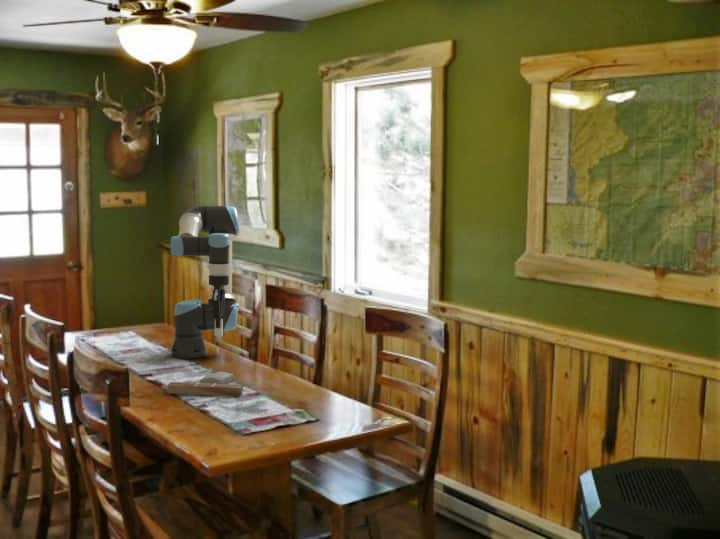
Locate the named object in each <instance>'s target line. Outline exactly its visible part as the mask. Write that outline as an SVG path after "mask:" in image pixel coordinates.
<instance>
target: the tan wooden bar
mask: <svg viewBox="0 0 720 539" xmlns="http://www.w3.org/2000/svg"><path fill="white" fill-rule="evenodd" d="M166 388H167V394H169V395H171V394H172V395H174V394H175V395H198V396H199V395H204V396H228V397H231V396H232V397H233V396H234V397H241V396H242V394H243V393H244V391H243V390H244V389H243V384H237V383H236V384H235V383H234V384H233V383H229V384H216V383H214V384H209V383H200V382H175V381H172V382H171V381H170V382H169V383H168V384H167V385H166Z"/></svg>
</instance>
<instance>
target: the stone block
mask: <svg viewBox="0 0 720 539" xmlns="http://www.w3.org/2000/svg"><path fill="white" fill-rule="evenodd" d="M233 380H234V373H231V372H226V371H216V372H211V373H208V374H207V375H205V376H204V377H203V378H201V379H199V383H209V384H214V383H216V384H232V383H233Z"/></svg>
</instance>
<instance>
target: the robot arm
mask: <svg viewBox="0 0 720 539" xmlns="http://www.w3.org/2000/svg"><path fill="white" fill-rule="evenodd" d="M238 218H239V217H238V211H237V208H236V207H234V206H230V205H198V206H194V207H191V208H189V209H188V210H186V211H185V212H183V214H181V216H180V218H179V222H178V225H179V232H178V235H175V236H174V235H173V236H171V238H170V253H171V255H172V256H179V257H191V256H192V257H196V256H198V257H201V256H202V257H208V265H207V266H206V267H207V268H208V274H209V275H208V285H209V286H211V296H209V297H208V299H207V303H206V302H205V303H204V301H203V300H202V299H200V298H199V299H197V298H196V299H195V298H194V299H188V300H183V301H182V300H181V301H179V302H177V303H176V304H175V305H174V306H175V307H174V314H173V315H174V339H173V341H172V344H171V348H170V357H172V358H176V359H182V360H183V359H185V360H189V359H190V360H191V359H192V360H193V359H199V358H203V357H205V356H207V355H208V348H207V345H206V342H205V339H204V336H203V334H204V333H203V332H204V331H205V332H207V331H212V332H214V337H222V336H223V335H224V333H223V332H225V331H233V330H235V329H236V327H237V323H238V322H237V321H238V314H239V306H240V303H238V302H236V301H237V300H236V297H235V296H233V240H235V239H236V237H237V234H239V233H240V225H239V219H238ZM199 233H208V236H201V235H199Z"/></svg>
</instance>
